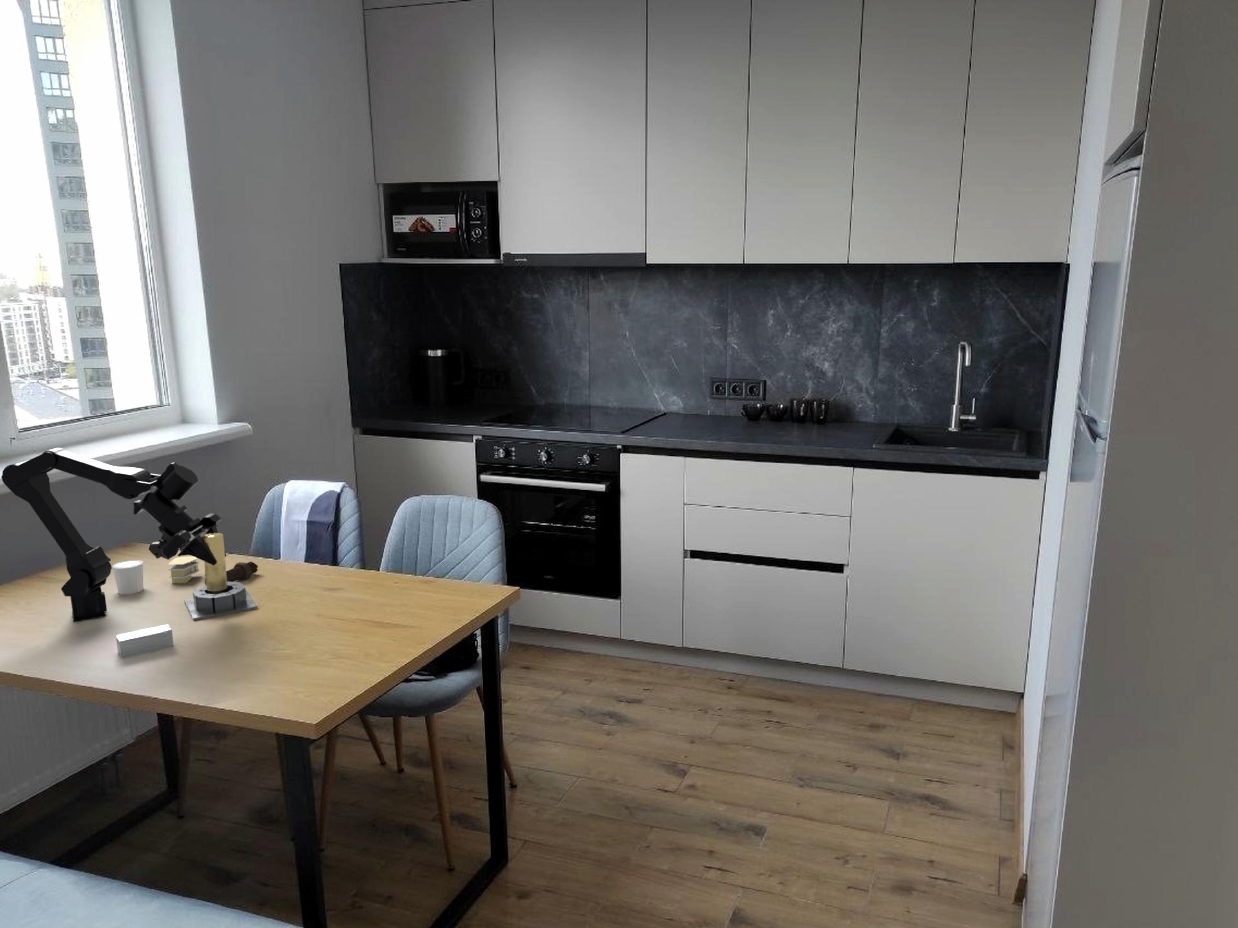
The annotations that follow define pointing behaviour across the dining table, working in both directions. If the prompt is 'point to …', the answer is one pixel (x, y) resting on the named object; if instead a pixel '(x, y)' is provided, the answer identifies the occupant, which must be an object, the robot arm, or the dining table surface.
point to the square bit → (144, 641)
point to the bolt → (240, 571)
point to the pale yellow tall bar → (216, 572)
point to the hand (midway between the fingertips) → (220, 560)
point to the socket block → (219, 601)
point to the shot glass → (129, 576)
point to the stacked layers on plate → (183, 569)
